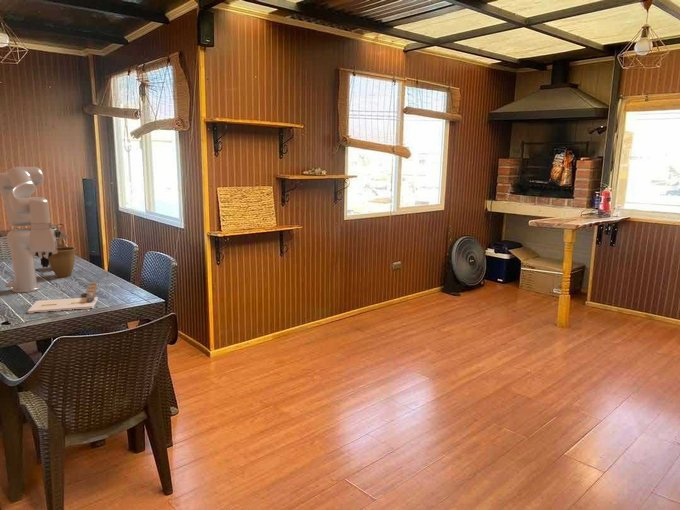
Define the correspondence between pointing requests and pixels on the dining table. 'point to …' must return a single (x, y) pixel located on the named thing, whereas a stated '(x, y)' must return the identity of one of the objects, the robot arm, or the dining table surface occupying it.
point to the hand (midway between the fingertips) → (45, 266)
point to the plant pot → (63, 261)
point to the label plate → (62, 304)
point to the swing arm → (91, 291)
